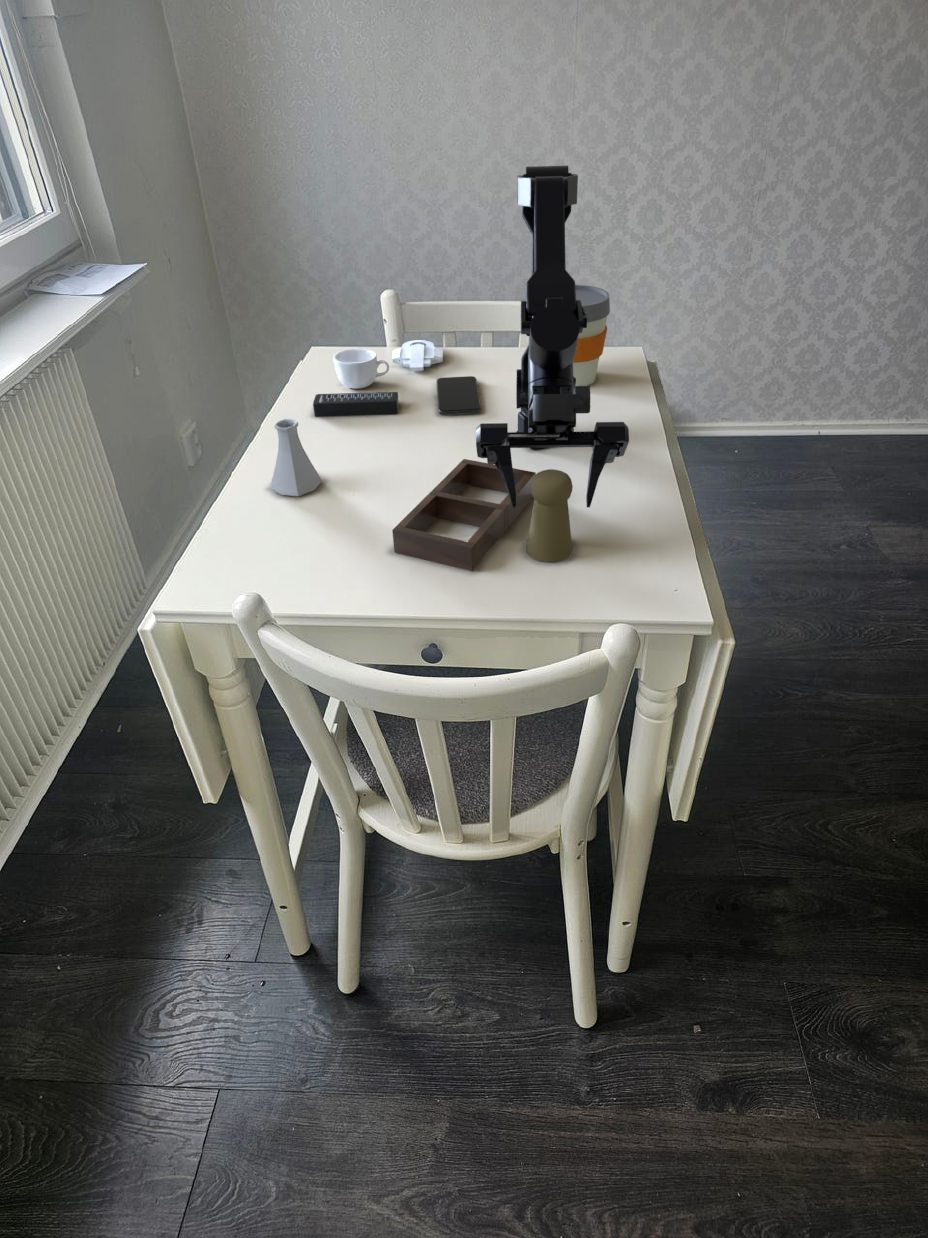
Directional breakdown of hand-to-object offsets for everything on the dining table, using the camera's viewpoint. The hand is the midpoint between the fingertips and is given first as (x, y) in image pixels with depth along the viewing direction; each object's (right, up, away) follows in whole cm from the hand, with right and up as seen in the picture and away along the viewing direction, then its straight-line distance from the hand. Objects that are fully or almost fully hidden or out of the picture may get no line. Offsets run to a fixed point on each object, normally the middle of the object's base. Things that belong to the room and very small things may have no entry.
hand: (551, 506), depth 106 cm
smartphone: (-12, +25, +46) cm, 54 cm away
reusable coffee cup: (+9, +30, +51) cm, 60 cm away
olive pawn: (0, -5, +6) cm, 8 cm away
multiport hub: (-30, +22, +43) cm, 57 cm away
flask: (-36, +6, +22) cm, 43 cm away
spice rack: (-10, -1, +12) cm, 16 cm away
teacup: (-29, +29, +52) cm, 67 cm away
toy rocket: (-20, +37, +62) cm, 74 cm away
